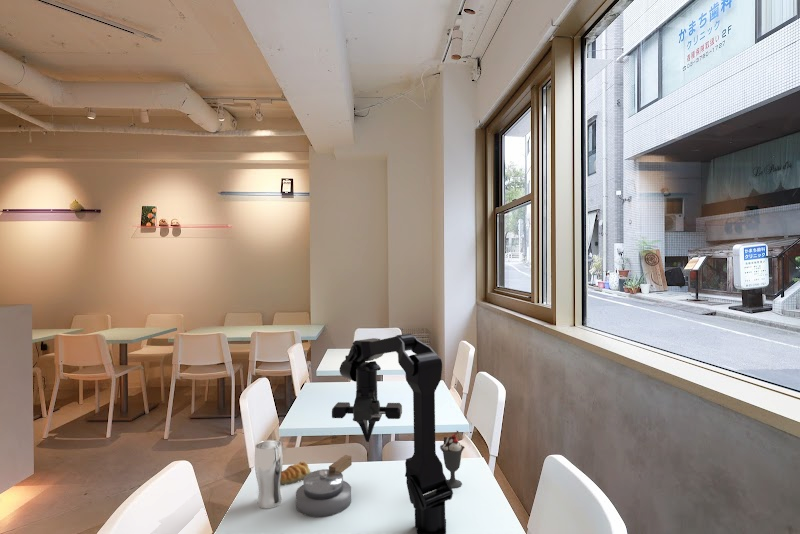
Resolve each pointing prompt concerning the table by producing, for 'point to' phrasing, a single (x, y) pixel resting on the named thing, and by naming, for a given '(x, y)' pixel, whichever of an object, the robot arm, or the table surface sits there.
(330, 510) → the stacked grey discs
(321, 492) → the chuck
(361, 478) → the table surface
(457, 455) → the sundae
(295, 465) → the pastry
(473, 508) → the table surface
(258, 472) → the beer glass
